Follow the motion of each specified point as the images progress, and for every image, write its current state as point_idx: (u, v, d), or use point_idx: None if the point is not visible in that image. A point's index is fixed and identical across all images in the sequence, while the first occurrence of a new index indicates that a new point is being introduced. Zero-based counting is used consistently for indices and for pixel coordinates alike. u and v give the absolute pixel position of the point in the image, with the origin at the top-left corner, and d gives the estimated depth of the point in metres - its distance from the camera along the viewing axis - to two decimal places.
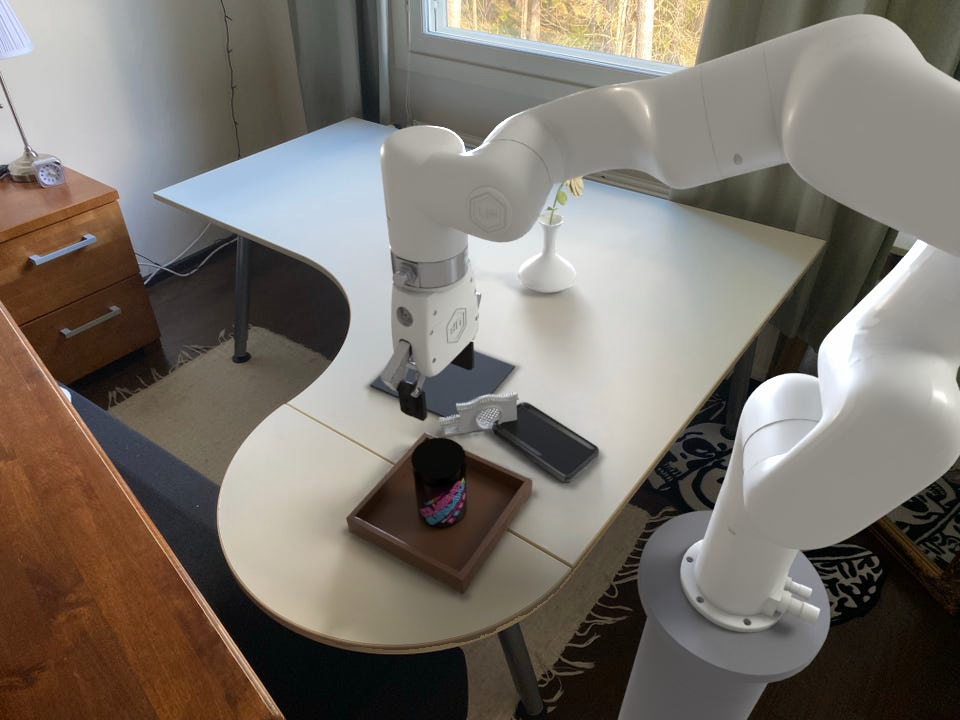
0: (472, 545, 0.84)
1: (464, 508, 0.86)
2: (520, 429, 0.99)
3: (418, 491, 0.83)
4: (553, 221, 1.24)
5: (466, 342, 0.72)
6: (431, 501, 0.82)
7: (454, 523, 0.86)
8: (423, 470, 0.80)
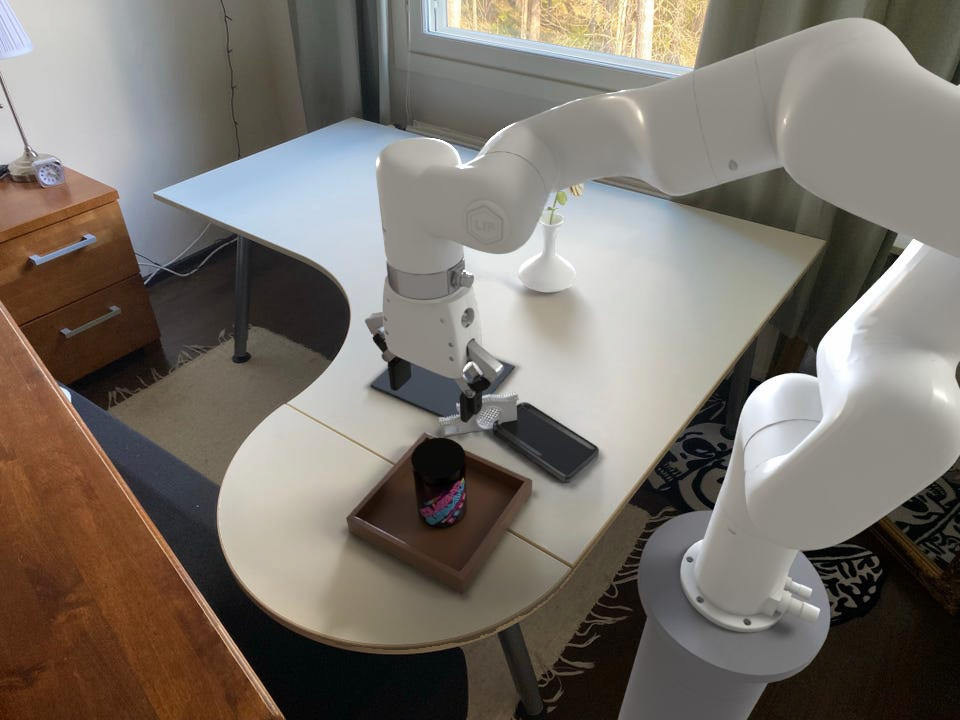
0: (472, 545, 0.84)
1: (464, 508, 0.86)
2: (521, 429, 0.99)
3: (418, 491, 0.83)
4: (553, 221, 1.24)
5: None
6: (431, 501, 0.82)
7: (454, 523, 0.86)
8: (423, 470, 0.80)
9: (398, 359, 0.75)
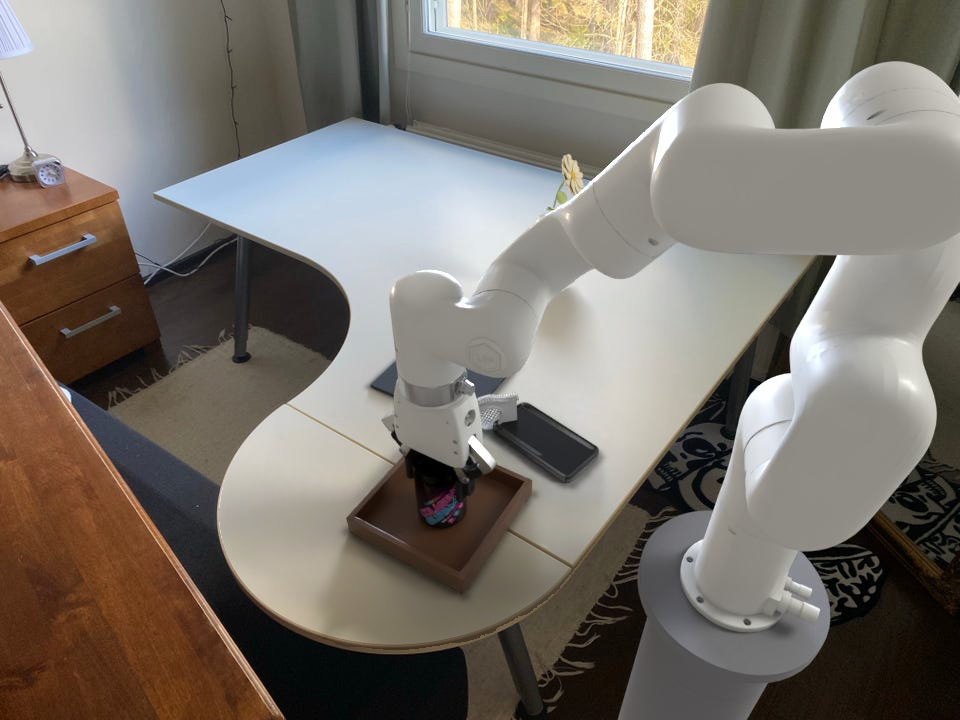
0: (472, 545, 0.84)
1: (464, 508, 0.86)
2: (521, 429, 0.99)
3: (418, 491, 0.83)
4: None
5: None
6: (431, 501, 0.82)
7: (454, 523, 0.86)
8: (423, 470, 0.80)
9: None
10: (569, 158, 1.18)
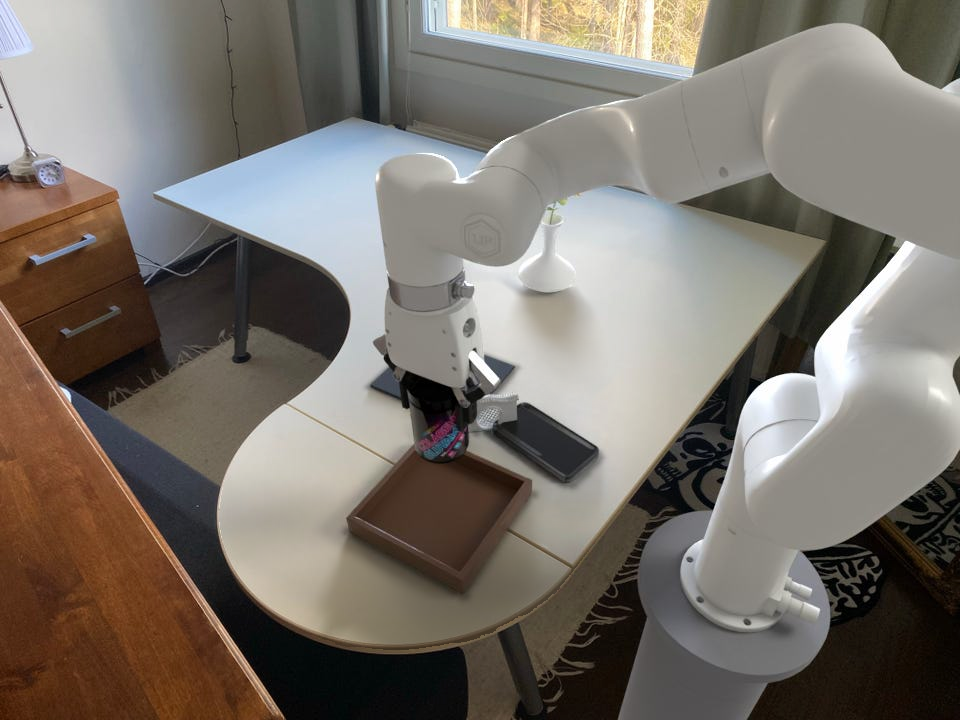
0: (472, 545, 0.84)
1: (466, 441, 0.78)
2: (521, 429, 0.99)
3: (414, 421, 0.75)
4: (553, 221, 1.24)
5: None
6: (429, 431, 0.75)
7: (455, 457, 0.78)
8: (419, 394, 0.73)
9: None
10: None
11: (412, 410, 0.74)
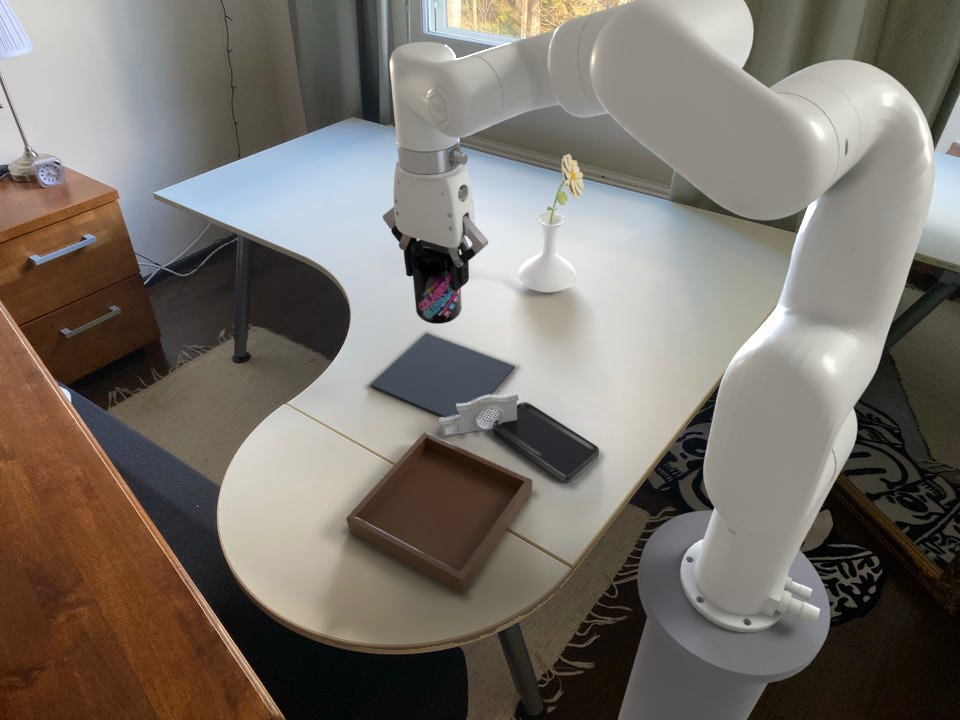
0: (472, 545, 0.84)
1: (459, 305, 0.94)
2: (521, 429, 0.99)
3: (416, 283, 0.91)
4: (553, 221, 1.24)
5: None
6: (428, 290, 0.90)
7: (450, 318, 0.93)
8: (421, 257, 0.88)
9: None
10: (569, 158, 1.18)
11: (414, 272, 0.90)
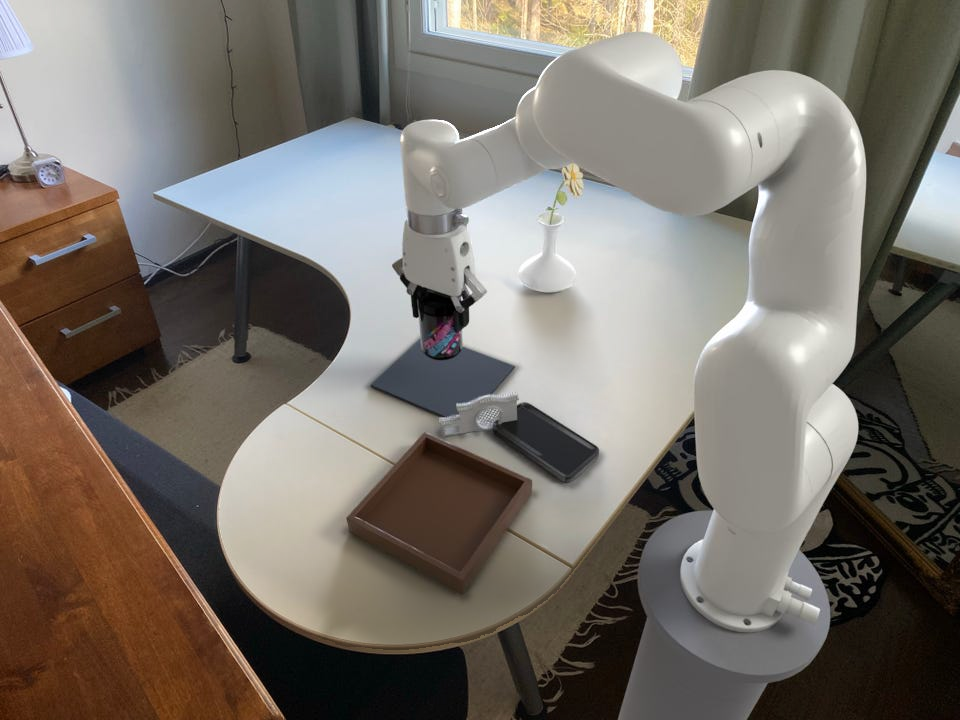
0: (472, 545, 0.84)
1: (460, 343, 1.04)
2: (521, 429, 0.99)
3: (422, 325, 1.01)
4: (553, 221, 1.24)
5: None
6: (433, 331, 1.00)
7: (452, 355, 1.03)
8: (426, 302, 0.98)
9: None
10: None
11: (420, 316, 1.00)
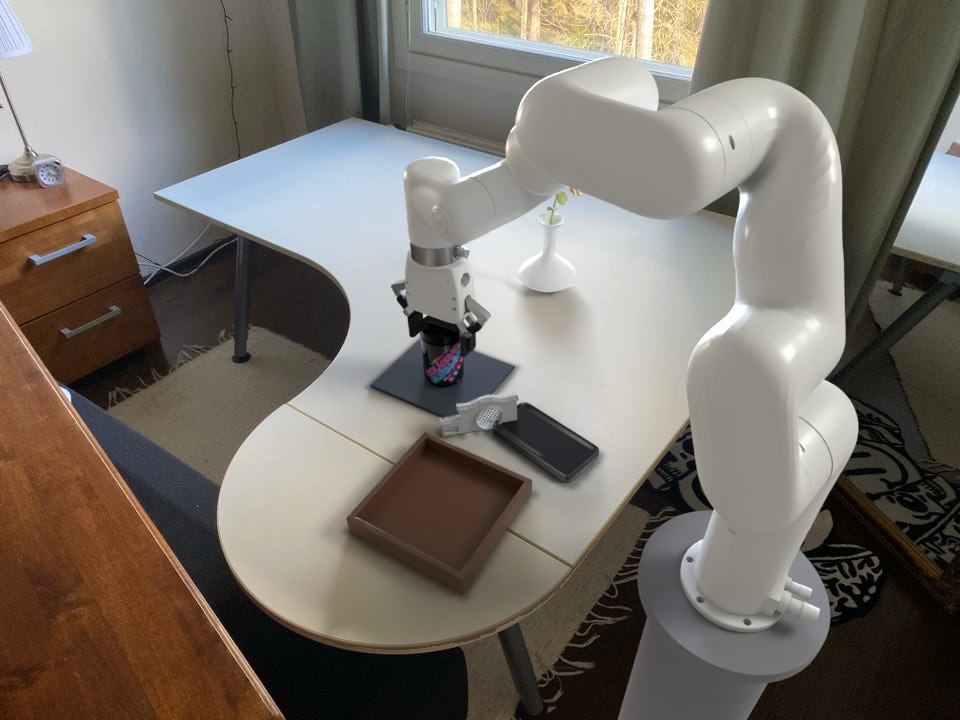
0: (472, 545, 0.84)
1: (461, 371, 1.07)
2: (521, 429, 0.99)
3: (424, 353, 1.04)
4: (553, 221, 1.24)
5: None
6: (435, 360, 1.03)
7: (453, 382, 1.07)
8: (429, 333, 1.01)
9: (415, 314, 1.04)
10: None
11: (423, 345, 1.03)
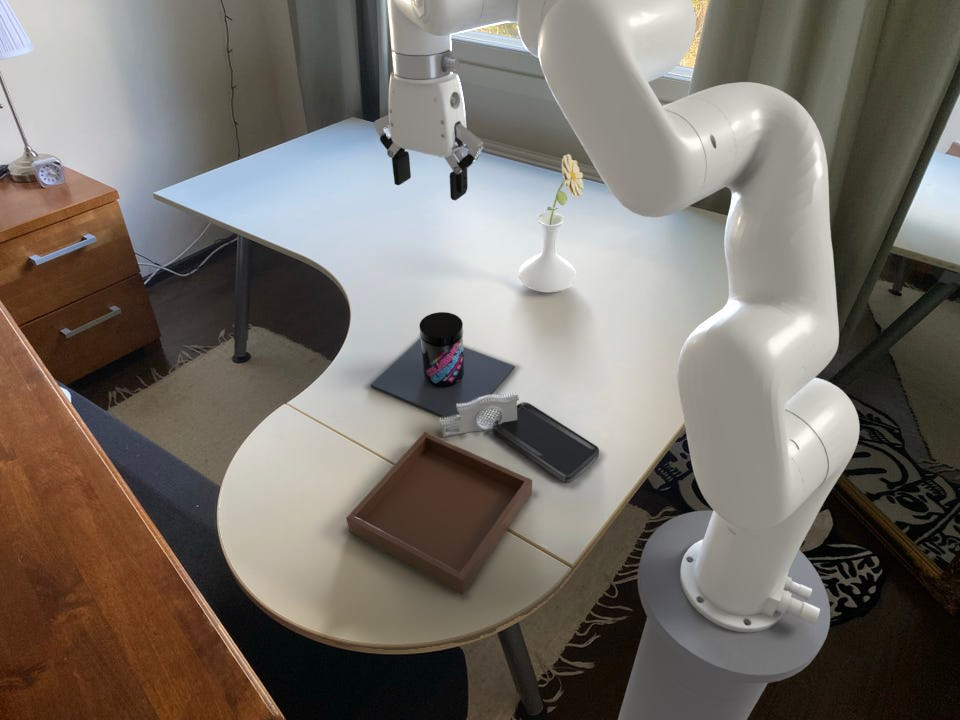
0: (472, 545, 0.84)
1: (461, 371, 1.07)
2: (521, 429, 0.99)
3: (424, 353, 1.04)
4: (553, 221, 1.24)
5: None
6: (435, 360, 1.03)
7: (453, 382, 1.07)
8: (429, 333, 1.01)
9: (400, 156, 0.95)
10: (569, 158, 1.18)
11: (423, 345, 1.03)
